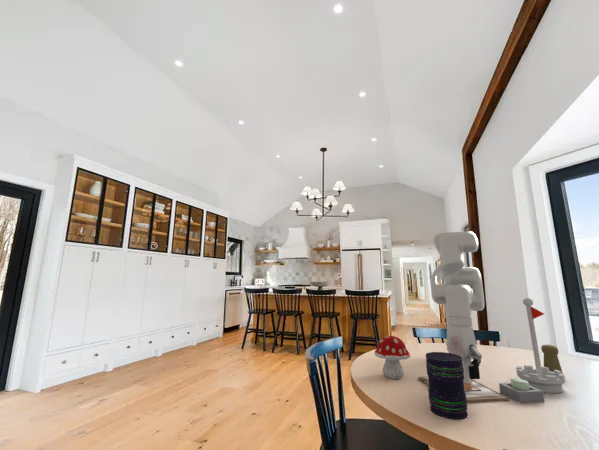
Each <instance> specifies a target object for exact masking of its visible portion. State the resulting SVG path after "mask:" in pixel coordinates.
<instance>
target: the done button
mask: <svg viewBox="0 0 599 450" xmlns="http://www.w3.org/2000/svg"><path fill="white" fill-rule="evenodd" d="M510 383H511V386H512V388H515V389H517V390H519V391H522V390H529V383H528V381H526V380H522V379H521V378H510Z"/></svg>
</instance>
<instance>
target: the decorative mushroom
mask: <svg viewBox="0 0 599 450" xmlns="http://www.w3.org/2000/svg"><path fill="white" fill-rule="evenodd" d="M374 356H375V357H377V358H379V359H384V360H385V361H384V364H383V366H382V374H383V375H384V377H385V378H388V379H392V380H400V379H403V377H404V375H405V372H404V367H403V366H402V364H401V362H400V361H402V360H407V359H409V358H411V356H412V355H411V353H410V352H409V351H408V349H407V347H406V344H405V343H404V341H403V340H402V339H401V338H400V337H397V336H395V335H386V336H384V337H382V338H381V339H380V340H378V344H377V347H376V349H375V350H374Z"/></svg>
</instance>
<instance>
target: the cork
mask: <svg viewBox="0 0 599 450" xmlns="http://www.w3.org/2000/svg"><path fill="white" fill-rule="evenodd" d="M540 349H541V353H543V367H547V368H549V371H550V372H554V370H558V371H561V372H562V374H564V373H563V369H562V366H561V363H560V359H559V349H558V347H557V346H556V345H552V344H542V345H541V347H540Z"/></svg>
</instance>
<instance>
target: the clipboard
mask: <svg viewBox="0 0 599 450" xmlns="http://www.w3.org/2000/svg"><path fill="white" fill-rule="evenodd" d="M417 379H418V380H419V381H420V382H422V383H423V384H425V385H426V386H428V387H429V378H428V375H427V376H426V375H425V376H418V377H417ZM472 385H473V389H472V390H466V389H464V391H465V393H466V400H467V404H471V403H489V402H490V403H491V402H493V403H494V402H509V401H510V398H509V397H507V396H505V395H503V394H501V393H500V392H498V391H496V390H495V389H493V388H490V387H488V386H486V385H484V384H482V383H480V382H478V381H476V380H475V379H472Z"/></svg>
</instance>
